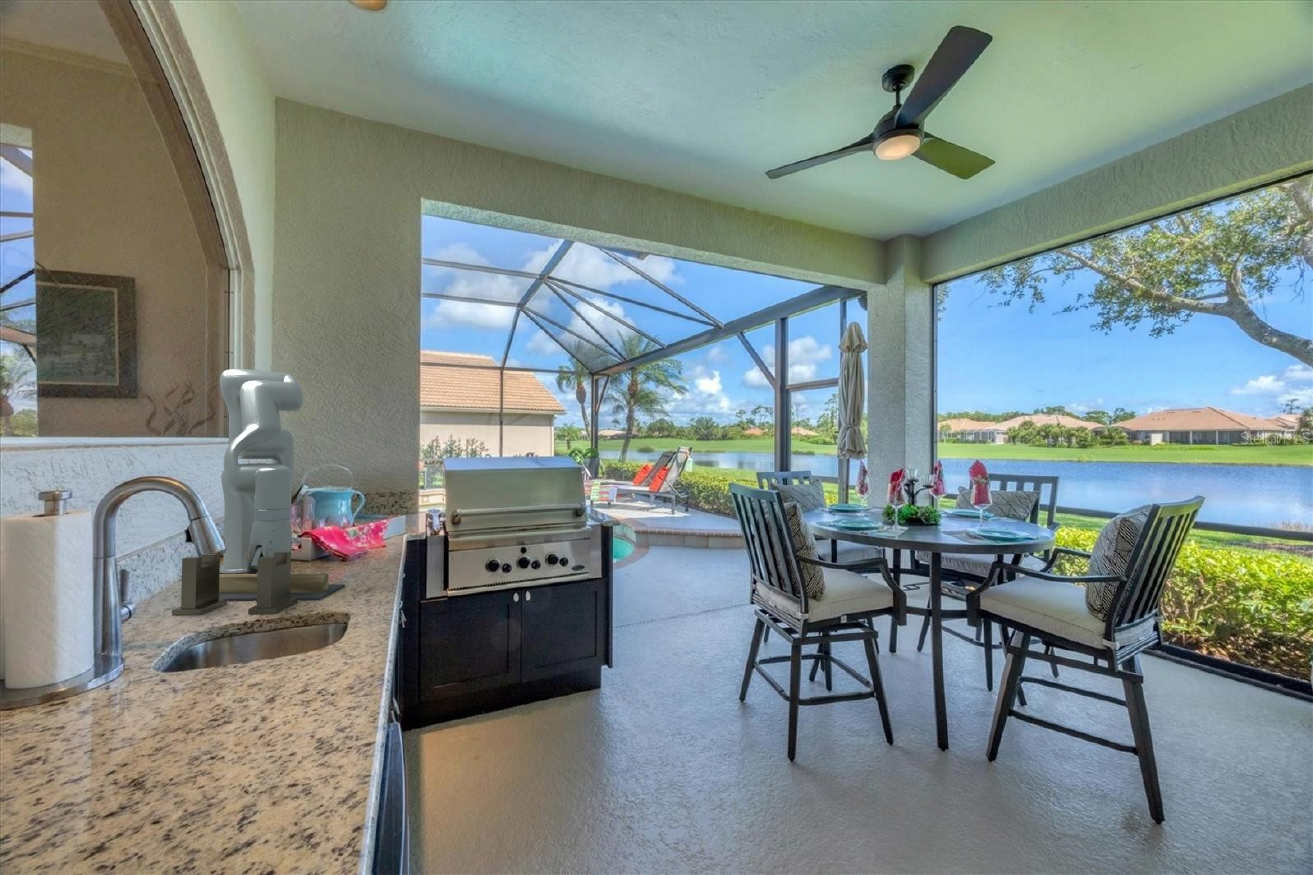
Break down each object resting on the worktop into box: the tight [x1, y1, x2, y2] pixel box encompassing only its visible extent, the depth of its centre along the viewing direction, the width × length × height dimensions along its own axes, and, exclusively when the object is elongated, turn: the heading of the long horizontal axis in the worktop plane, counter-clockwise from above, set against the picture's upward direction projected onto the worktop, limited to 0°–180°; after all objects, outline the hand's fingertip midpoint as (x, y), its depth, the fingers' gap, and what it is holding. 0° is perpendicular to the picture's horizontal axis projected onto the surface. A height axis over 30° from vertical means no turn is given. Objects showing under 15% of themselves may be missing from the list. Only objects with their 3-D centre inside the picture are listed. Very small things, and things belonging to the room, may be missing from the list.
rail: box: [219, 573, 329, 593], centre depth 132 cm, size 3×26×4 cm, turn 95°
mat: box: [219, 583, 346, 602], centre depth 132 cm, size 12×30×1 cm, turn 95°
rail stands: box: [171, 551, 299, 616], centre depth 120 cm, size 8×22×12 cm, turn 95°
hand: (271, 586), depth 132 cm, fingers open, 3 cm apart
